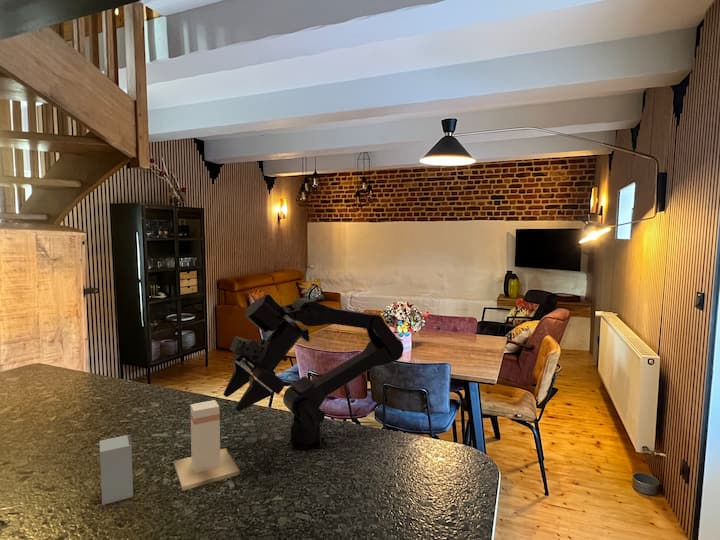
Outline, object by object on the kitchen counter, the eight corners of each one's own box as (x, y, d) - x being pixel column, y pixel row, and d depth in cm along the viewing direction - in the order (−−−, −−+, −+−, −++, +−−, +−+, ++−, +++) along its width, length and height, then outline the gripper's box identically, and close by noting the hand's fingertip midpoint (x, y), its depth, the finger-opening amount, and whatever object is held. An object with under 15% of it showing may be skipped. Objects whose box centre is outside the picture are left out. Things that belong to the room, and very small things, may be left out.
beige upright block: (216, 458, 93) (215, 399, 92) (220, 466, 90) (219, 406, 89) (191, 464, 91) (190, 404, 90) (195, 473, 87) (193, 411, 86)
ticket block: (131, 483, 85) (129, 433, 84) (133, 496, 81) (131, 444, 80) (101, 491, 82) (99, 439, 81) (102, 505, 78) (99, 451, 77)
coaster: (225, 451, 98) (225, 448, 98) (239, 474, 88) (239, 470, 88) (173, 464, 92) (173, 461, 92) (182, 490, 83) (182, 486, 82)
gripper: (240, 315, 101) (192, 369, 96) (267, 330, 85) (212, 396, 80) (272, 343, 106) (229, 396, 101) (304, 363, 90) (254, 426, 85)
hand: (230, 402), depth 92 cm, fingers open, 9 cm apart
